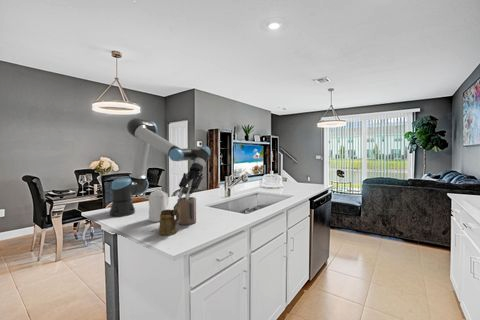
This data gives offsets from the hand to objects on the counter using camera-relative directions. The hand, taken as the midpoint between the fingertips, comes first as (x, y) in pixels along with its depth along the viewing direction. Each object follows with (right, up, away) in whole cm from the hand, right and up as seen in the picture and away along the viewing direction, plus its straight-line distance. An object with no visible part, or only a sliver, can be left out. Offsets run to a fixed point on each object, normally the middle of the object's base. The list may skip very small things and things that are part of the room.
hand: (182, 197), depth 131 cm
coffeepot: (-18, -15, +10) cm, 26 cm away
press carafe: (+2, -15, +3) cm, 16 cm away
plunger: (+1, -13, +4) cm, 14 cm away
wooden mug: (-3, -16, -13) cm, 21 cm away
